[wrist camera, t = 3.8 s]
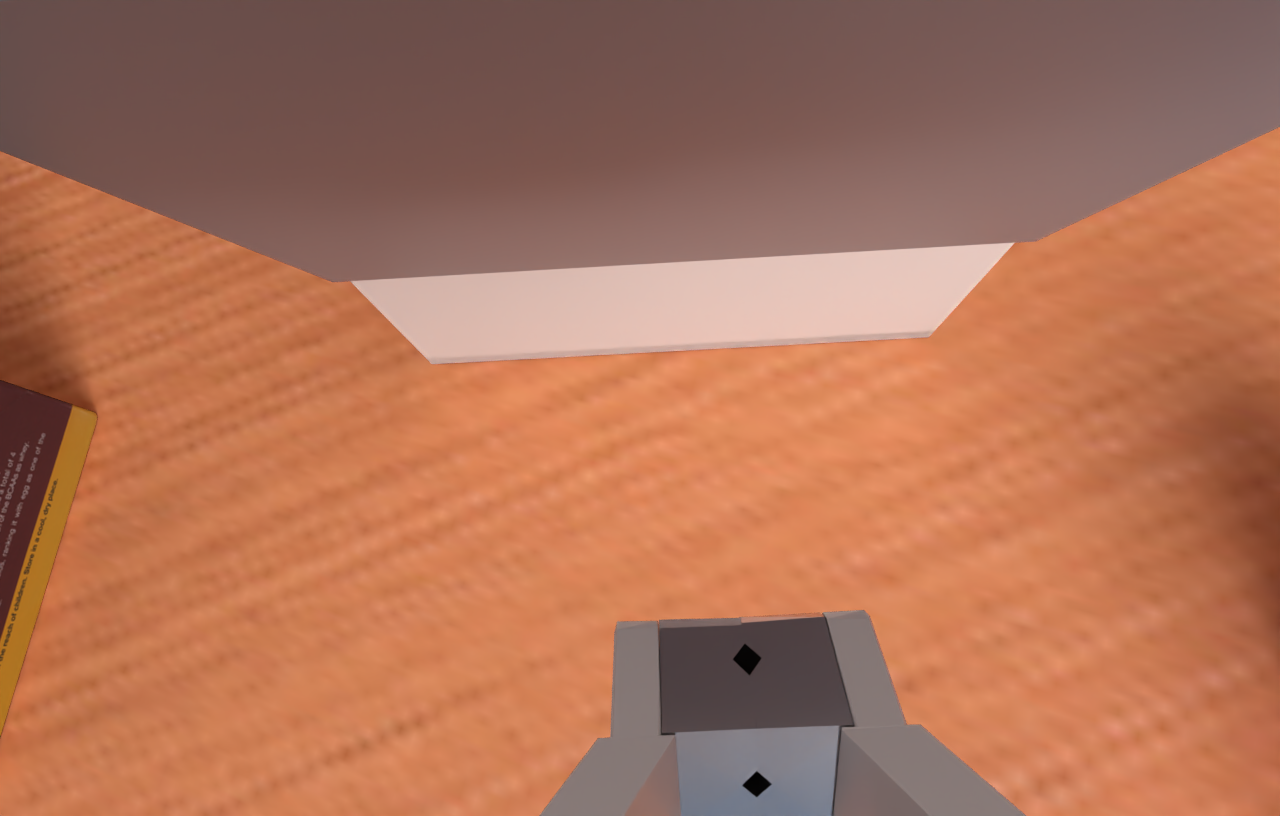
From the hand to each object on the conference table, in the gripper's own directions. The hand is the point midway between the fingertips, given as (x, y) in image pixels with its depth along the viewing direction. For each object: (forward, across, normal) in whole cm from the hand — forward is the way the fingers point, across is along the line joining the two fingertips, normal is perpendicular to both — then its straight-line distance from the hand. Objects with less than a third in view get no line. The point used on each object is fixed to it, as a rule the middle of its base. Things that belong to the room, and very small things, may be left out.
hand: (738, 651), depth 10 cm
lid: (+9, 0, -4) cm, 10 cm away
